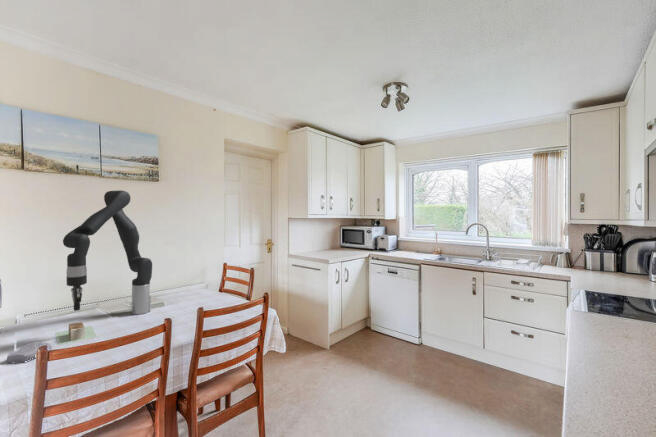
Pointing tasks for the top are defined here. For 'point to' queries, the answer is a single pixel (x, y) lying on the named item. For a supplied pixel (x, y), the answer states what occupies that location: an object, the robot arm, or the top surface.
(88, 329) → the sage mat
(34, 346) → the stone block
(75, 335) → the walnut block
